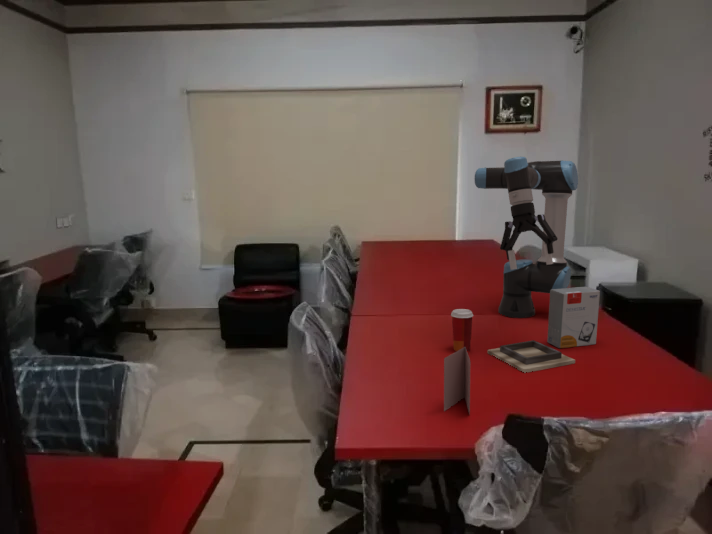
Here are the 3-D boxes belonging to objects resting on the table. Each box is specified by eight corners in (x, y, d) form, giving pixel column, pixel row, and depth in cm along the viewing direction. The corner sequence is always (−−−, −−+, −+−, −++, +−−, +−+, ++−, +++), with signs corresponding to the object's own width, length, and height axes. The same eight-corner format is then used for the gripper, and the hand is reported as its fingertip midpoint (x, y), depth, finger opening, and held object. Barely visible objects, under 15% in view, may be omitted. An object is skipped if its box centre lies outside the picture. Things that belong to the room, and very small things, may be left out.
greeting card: (461, 396, 158) (462, 346, 155) (485, 403, 153) (486, 351, 150) (441, 410, 149) (441, 357, 146) (465, 418, 145) (466, 363, 142)
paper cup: (469, 345, 200) (470, 308, 198) (475, 352, 193) (475, 314, 190) (448, 346, 200) (448, 308, 197) (452, 353, 192) (453, 314, 190)
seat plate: (487, 353, 192) (487, 344, 191) (534, 345, 199) (535, 336, 198) (524, 373, 174) (524, 363, 173) (575, 363, 181) (575, 354, 180)
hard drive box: (559, 349, 194) (562, 293, 190) (546, 342, 201) (548, 289, 198) (597, 344, 198) (600, 290, 194) (583, 338, 205) (586, 285, 202)
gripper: (484, 211, 192) (493, 272, 191) (549, 195, 173) (559, 262, 172) (497, 211, 197) (506, 270, 196) (562, 195, 178) (572, 261, 177)
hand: (531, 267), depth 184 cm, fingers open, 13 cm apart
